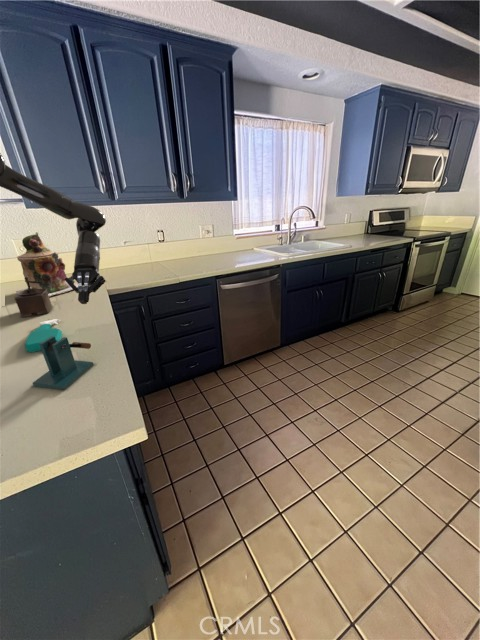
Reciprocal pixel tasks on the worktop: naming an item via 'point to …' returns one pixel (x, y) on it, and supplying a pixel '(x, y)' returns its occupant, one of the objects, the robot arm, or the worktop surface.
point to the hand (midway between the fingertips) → (83, 303)
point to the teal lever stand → (60, 365)
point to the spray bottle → (42, 335)
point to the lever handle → (71, 345)
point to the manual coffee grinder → (34, 299)
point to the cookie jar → (43, 266)
